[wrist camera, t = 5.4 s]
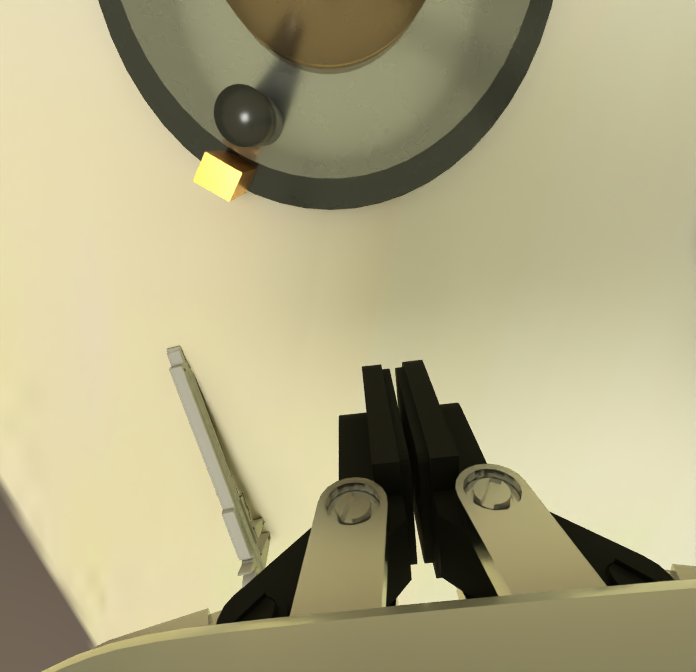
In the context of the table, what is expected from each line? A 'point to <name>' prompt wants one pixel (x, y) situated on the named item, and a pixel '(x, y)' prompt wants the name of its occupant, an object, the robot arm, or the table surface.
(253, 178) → the base
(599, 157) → the table surface
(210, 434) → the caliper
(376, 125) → the turntable
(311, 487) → the table surface
